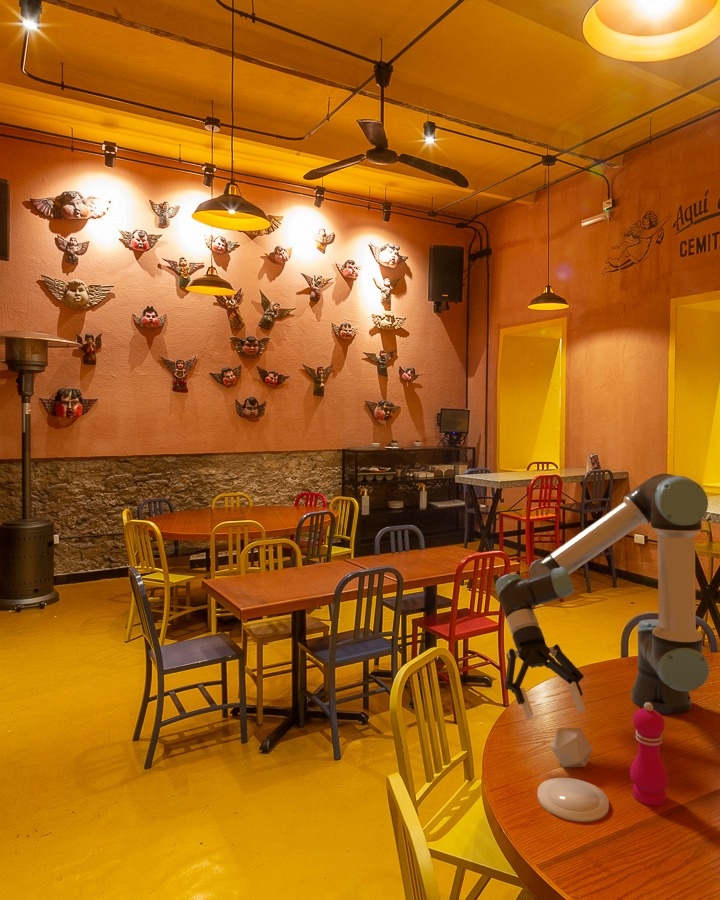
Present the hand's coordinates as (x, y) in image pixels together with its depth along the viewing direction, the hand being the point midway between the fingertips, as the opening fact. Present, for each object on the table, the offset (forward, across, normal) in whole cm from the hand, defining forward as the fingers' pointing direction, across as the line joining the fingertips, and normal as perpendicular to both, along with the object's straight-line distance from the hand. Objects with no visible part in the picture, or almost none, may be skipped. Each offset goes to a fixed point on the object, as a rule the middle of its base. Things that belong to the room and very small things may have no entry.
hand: (556, 714), depth 147 cm
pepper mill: (+21, -10, +7) cm, 24 cm away
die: (+10, -2, -4) cm, 11 cm away
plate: (+19, +6, +5) cm, 21 cm away
